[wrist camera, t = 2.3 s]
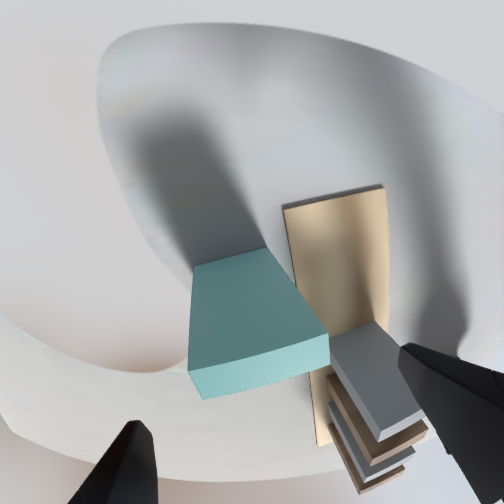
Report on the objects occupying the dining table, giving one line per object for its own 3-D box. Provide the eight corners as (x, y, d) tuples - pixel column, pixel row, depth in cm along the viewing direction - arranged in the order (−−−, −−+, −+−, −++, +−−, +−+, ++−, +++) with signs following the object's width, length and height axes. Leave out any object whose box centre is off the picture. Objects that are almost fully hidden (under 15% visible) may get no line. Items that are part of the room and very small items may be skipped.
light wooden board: (383, 187, 18) (385, 188, 18) (372, 422, 29) (373, 424, 28) (282, 209, 18) (284, 210, 17) (317, 445, 28) (317, 447, 28)
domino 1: (267, 247, 18) (328, 332, 9) (271, 268, 19) (330, 364, 10) (193, 266, 18) (187, 371, 9) (200, 287, 19) (202, 399, 9)
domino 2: (374, 320, 22) (444, 394, 12) (374, 334, 22) (438, 407, 13) (323, 340, 21) (381, 431, 12) (324, 353, 22) (377, 442, 13)
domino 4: (370, 385, 25) (415, 451, 16) (369, 394, 25) (411, 458, 16) (327, 402, 25) (365, 477, 15) (327, 410, 25) (363, 483, 16)
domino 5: (367, 408, 26) (405, 469, 17) (366, 414, 27) (402, 474, 18) (328, 423, 26) (360, 491, 17) (328, 430, 27) (359, 494, 17)
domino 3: (372, 356, 23) (428, 428, 14) (371, 367, 24) (423, 437, 15) (326, 375, 23) (372, 459, 14) (326, 386, 24) (369, 466, 14)
